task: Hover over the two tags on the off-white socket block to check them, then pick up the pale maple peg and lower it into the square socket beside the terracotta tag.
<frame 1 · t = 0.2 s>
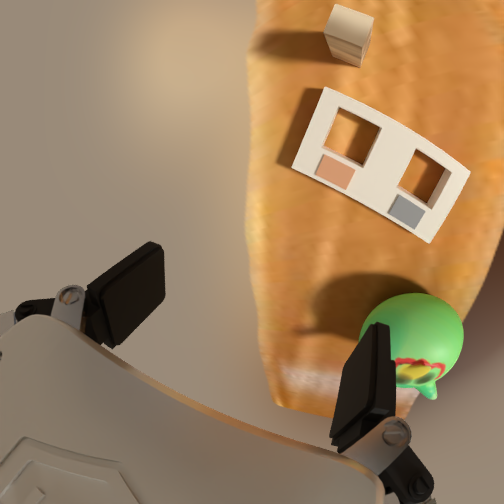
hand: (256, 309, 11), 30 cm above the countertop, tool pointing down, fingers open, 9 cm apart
socket block: (383, 162, 32), on the countertop
maple peg: (351, 50, 26), on the countertop
toy bird: (407, 316, 41), on the countertop
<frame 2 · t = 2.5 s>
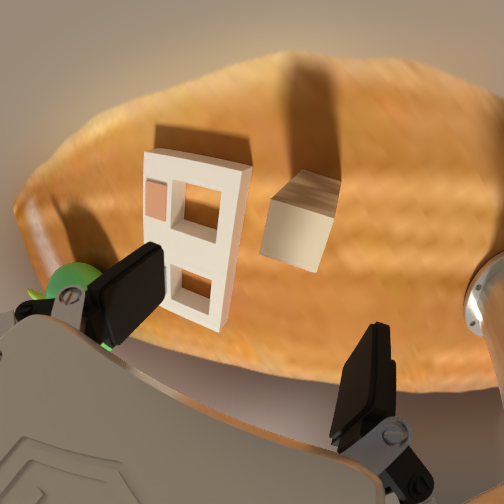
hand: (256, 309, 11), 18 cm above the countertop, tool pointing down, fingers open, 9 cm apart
socket block: (194, 240, 34), on the countertop
maple peg: (316, 193, 26), on the countertop
toy bird: (107, 289, 48), on the countertop
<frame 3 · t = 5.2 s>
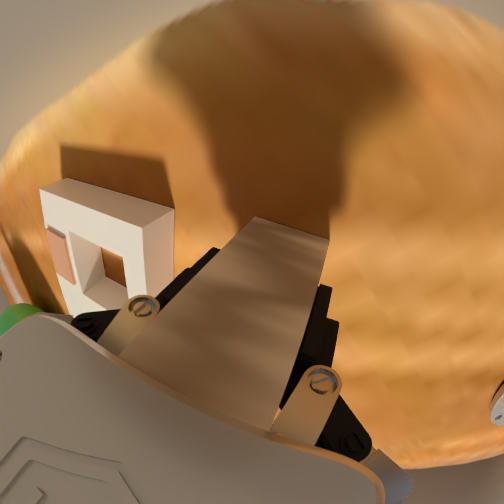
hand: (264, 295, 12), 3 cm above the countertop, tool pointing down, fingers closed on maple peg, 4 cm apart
socket block: (122, 304, 23), on the countertop
maple peg: (283, 260, 15), on the countertop, touching gripper
toy bird: (60, 330, 37), on the countertop
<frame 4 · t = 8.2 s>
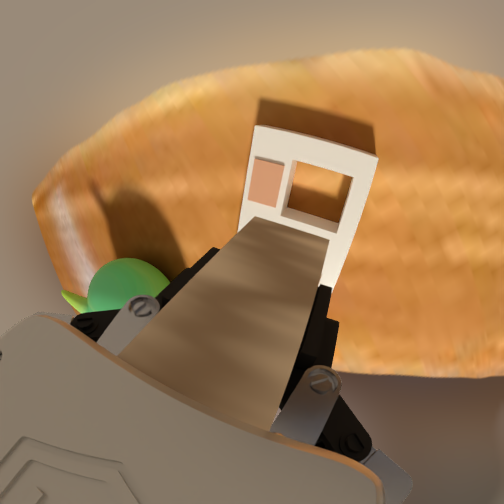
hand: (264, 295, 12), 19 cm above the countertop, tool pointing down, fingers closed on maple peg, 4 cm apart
socket block: (296, 231, 31), on the countertop
maple peg: (283, 260, 15), point 16 cm above the countertop, touching gripper
toy bird: (158, 289, 45), on the countertop
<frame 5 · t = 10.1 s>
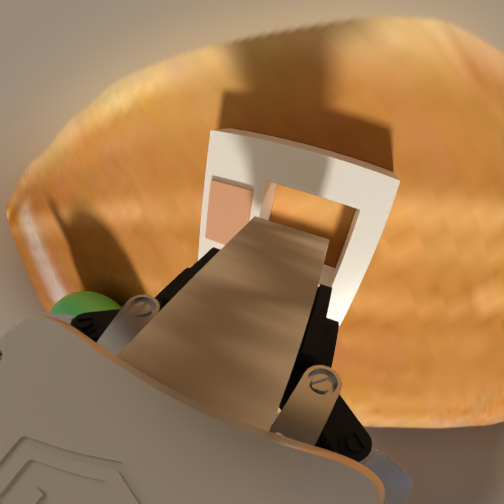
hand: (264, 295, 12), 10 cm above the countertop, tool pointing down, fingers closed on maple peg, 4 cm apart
socket block: (278, 275, 23), on the countertop
maple peg: (283, 260, 15), point 6 cm above the countertop, touching gripper
toy bird: (126, 322, 37), on the countertop
when the fingers open (5 cm above the countertop, at t = 11.4 s): maple peg drops 2 cm, resting in socket block.
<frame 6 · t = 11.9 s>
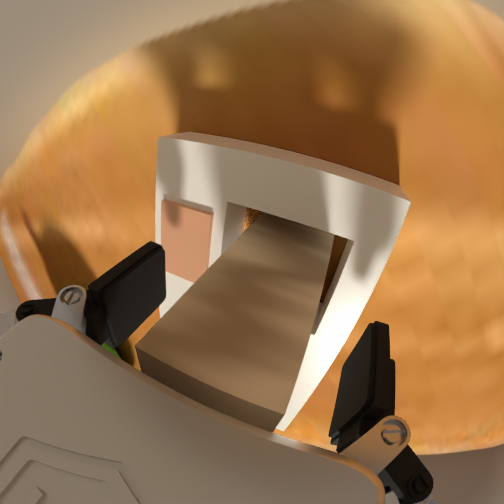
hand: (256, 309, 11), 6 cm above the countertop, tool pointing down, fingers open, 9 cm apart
socket block: (254, 309, 19), on the countertop
maple peg: (293, 249, 16), resting in socket block
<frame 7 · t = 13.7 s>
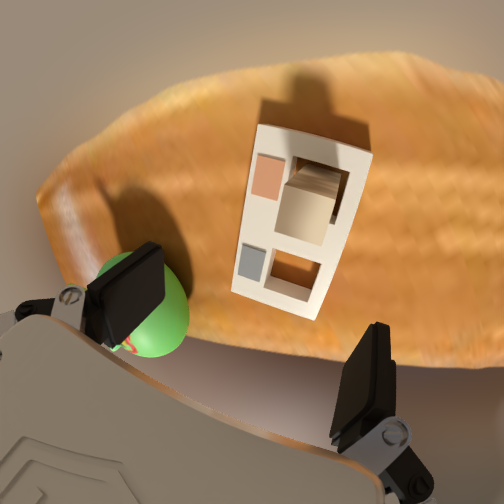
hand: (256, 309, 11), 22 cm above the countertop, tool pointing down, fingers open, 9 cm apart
socket block: (297, 224, 33), on the countertop
maple peg: (320, 184, 30), resting in socket block
toy bird: (162, 283, 46), on the countertop
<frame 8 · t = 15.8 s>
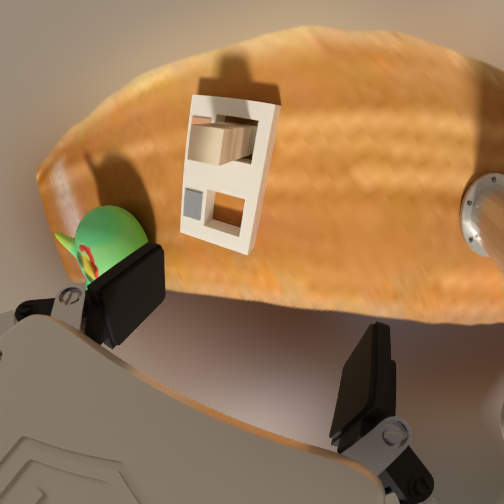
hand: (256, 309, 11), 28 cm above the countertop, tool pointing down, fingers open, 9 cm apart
socket block: (229, 171, 39), on the countertop
maple peg: (243, 137, 36), resting in socket block
toy bird: (133, 236, 53), on the countertop
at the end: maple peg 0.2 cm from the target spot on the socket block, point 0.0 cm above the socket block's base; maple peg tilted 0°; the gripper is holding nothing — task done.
